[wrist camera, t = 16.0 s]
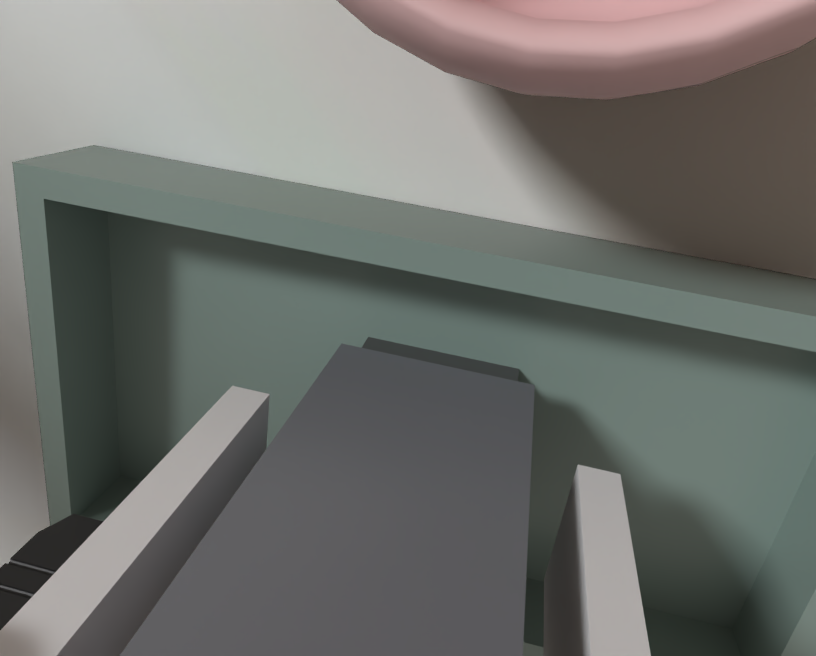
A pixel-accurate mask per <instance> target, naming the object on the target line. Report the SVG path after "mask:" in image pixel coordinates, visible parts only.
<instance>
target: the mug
mask: <svg viewBox="0 0 816 656" xmlns="http://www.w3.org/2000/svg"><path fill="white" fill-rule="evenodd" d="M337 1H338V2H339V3H340V4H342V5H343V6H344V7H345V8H346V9H347V10H348V11H350V12H351V13H352V14H353V15H354V16H355V17H356V18H358V19H359V20H360V21H361V22H362V23H363V24H364V25H365V26H367V27H368V28H369V29H370V30H371V31H372V32H374V33H375V34H377V35H379V36H381V37H383V38H384V39H386V40H388V41H390V42H392V43H393V44H395V45H397V46H399V47H401V48H402V49H404V50H406V51H408V52H410V53H411V54H413V55H415V56H417V57H419V58H421V59H422V60H424V61H426V62H428V63H430V64H431V65H433V66H435V67H437V68H439V69H440V70H442V71H444V72H447V73H450V74H454V75H457V76H461V77H464V78H467V79H471V80H474V81H478V82H481V83H485V84H488V85H492V86H495V87H499V88H502V89H505V90H509V91H512V92H516V93H519V94H523V95H537V96H554V97H571V98H588V99H605V100H609V99H615V98H622V97H628V96H635V95H641V94H648V93H654V92H661V91H668V90H674V89H681V88H687V87H694V86H699V85H702V84H704V83H707V82H710V81H713V80H715V79H718V78H721V77H724V76H726V75H729V74H732V73H735V72H737V71H740V70H743V69H746V68H749V67H751V66H754V65H757V64H760V63H762V62H765V61H768V60H771V59H773V58H776V57H779V56H782V55H784V54H787V53H790V52H792V51H794V50H796V49H798V48H799V47H801V46H803V45H805V44H806V43H808V42H810V41H811V40H813V39H815V38H816V0H337Z"/></svg>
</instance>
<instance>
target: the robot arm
mask: <svg viewBox="0 0 816 656" xmlns="http://www.w3.org/2000/svg"><path fill="white" fill-rule="evenodd" d="M269 397H270V394H267V393H262V392H258V391H254V390H249V389H245V388H240V387H236V386H232V387H231V388H230V389H229V390H228V391H227V392H226V393H225V394H224V395H223V396H222V397H221V398H220V399H219V400H218V401H217V402H216V403H215V404H214V406H213V407H212V408H211V409H210V410H209V411H208V412H207V413H206V414H205V415H204V416H203V417H202V418H201V419H200V420H199V421H198V422H197V423H196V425H195V426H194V427H193V428H192V429H191V430H190V431H189V432H188V433H187V434H186V435H185V436H184V437H183V438H182V439H181V440H180V441H179V442H178V444H177V445H176V446H175V447H174V448H173V449H172V450H171V451H170V452H169V453H168V454H167V455H166V456H165V457H164V458H163V459H162V460H161V461H160V462H159V464H158V465H157V466H156V467H155V468H154V469H153V470H152V471H151V472H150V473H149V474H148V475H147V476H146V477H145V478H144V479H143V480H142V481H141V483H140V484H139V485H138V486H137V487H136V488H135V489H134V490H133V491H132V492H131V493H130V494H129V495H128V496H127V497H126V498H125V499H124V500H123V502H122V503H121V504H120V505H119V506H118V507H117V508H116V509H115V510H114V511H113V512H112V513H111V514H110V515H109V516H108V517H107V518H106V519H105V521H104V522H103V521H100V520H96V519H92V518H88V517H84V516H80V515H77V514H72V515H70V516H68V517H66V518H64V519H62V520H61V521H59V522H57V523H55V524H53V525H51V526H49V527H47V528H45V529H44V530H42V531H40V532H38V533H37V534H36V535H35V536H34V537H33V538H32V539H31V540H29V541H28V542H27V543H26V544H25V545H24V546H23V547H22V548H21V549H20V550H19V551H18V552H17V553H16V554H15V555H14V556H12V557H11V560H10V562H9V563H8V564H6V563H5V564H4V565H3V566H2V567H1V568H0V656H119V655H120V654H121V653H122V651H123V650H124V648H125V647H126V646H127V644H128V643H129V641H130V640H131V639H132V637H133V636H134V634H135V633H136V632H137V630H138V629H139V627H140V626H141V625H142V623H143V622H144V620H145V619H146V618H147V616H148V615H149V613H150V612H151V611H152V609H153V608H154V606H155V605H156V603H157V602H158V601H159V599H160V598H161V596H162V595H163V594H164V592H165V591H166V589H167V588H168V587H169V585H170V584H171V582H172V581H173V580H174V578H175V577H176V575H177V574H178V573H179V571H180V570H181V568H182V567H183V566H184V564H185V563H186V561H187V560H188V559H189V557H190V556H191V554H192V553H193V551H194V550H195V549H196V547H197V546H198V544H199V543H200V542H201V540H202V539H203V537H204V536H205V535H206V533H207V532H208V530H209V529H210V528H211V526H212V525H213V523H214V522H215V521H216V519H217V518H218V516H219V515H220V514H221V512H222V511H223V509H224V508H225V506H226V505H227V504H228V502H229V501H230V499H231V498H232V497H233V495H234V494H235V492H236V491H237V490H238V488H239V487H240V485H241V484H242V483H243V481H244V480H245V478H246V477H247V476H248V474H249V473H250V471H251V470H252V469H253V467H254V466H255V464H256V463H257V462H258V460H259V459H260V457H261V456H262V454H263V453H264V452H265V450H266V446H267V429H268V413H269ZM543 656H651V653H650V647H649V641H648V636H647V630H646V624H645V618H644V612H643V606H642V600H641V594H640V588H639V582H638V576H637V570H636V564H635V558H634V552H633V546H632V540H631V534H630V528H629V522H628V516H627V511H626V505H625V499H624V493H623V487H622V481H621V475H620V474H618V473H613V472H609V471H605V470H600V469H596V468H591V467H587V466H583V465H577V469H576V472H575V476H574V479H573V482H572V486H571V489H570V492H569V496H568V499H567V503H566V506H565V509H564V513H563V516H562V520H561V523H560V526H559V530H558V533H557V536H556V540H555V543H554V547H553V550H552V553H551V557H550V560H549V564H548V567H547V570H546V574H545V577H544V647H543Z"/></svg>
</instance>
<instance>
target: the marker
mask: <svg viewBox="0 0 816 656" xmlns="http://www.w3.org/2000/svg"><path fill="white" fill-rule="evenodd" d="M518 375H519V369H517V368H513V367H508V366H503V365H499V364H494V363H489V362H484V361H480V360H475V359H470V358H466V357H461V356H456V355H452V354H447V353H442V352H437V351H433V350H428V349H423V348H419V347H414V346H409V345H405V344H400V343H395V342H390V341H386V340H381V339H376V338H372V337H368V338H367V340H366V341H365V343H364V344H363V346H362V347H361V348H360V347H356V346H351V345H346V344H342V343H341V345H340V346H339V348H338V349H337V350H336V352H335V353H334V355H333V356H332V357H331V359H330V360H329V362H328V363H327V365H326V366H325V367H324V369H323V370H322V372H321V373H320V374H319V376H318V377H317V379H316V380H315V381H314V383H313V384H312V386H311V387H310V388H309V390H308V391H307V393H306V394H305V395H304V397H303V398H302V400H301V401H300V402H299V404H298V405H297V407H296V408H295V409H294V411H293V412H292V414H291V415H290V417H289V418H288V419H287V421H286V422H285V424H284V425H283V426H282V428H281V429H280V431H279V432H278V433H277V435H276V436H275V438H274V439H273V440H272V442H271V443H270V445H269V446H268V447H267V449H266V450H265V452H264V453H263V454H262V456H261V457H260V459H259V460H258V462H257V463H256V464H255V466H254V467H253V469H252V470H251V471H250V473H249V474H248V476H247V477H246V478H245V480H244V481H243V483H242V484H241V485H240V487H239V488H238V490H237V491H236V492H235V494H234V495H233V497H232V498H231V499H230V501H229V502H228V504H227V505H226V506H225V508H224V509H223V511H222V512H221V514H220V515H219V516H218V518H217V519H216V521H215V522H214V523H213V525H212V526H211V528H210V529H209V530H208V532H207V533H206V535H205V536H204V537H203V539H202V540H201V542H200V543H199V544H198V546H197V547H196V549H195V550H194V551H193V553H192V554H191V556H190V557H189V559H188V560H187V561H186V563H185V564H184V566H183V567H182V568H181V570H180V571H179V573H178V574H177V575H176V577H175V578H174V580H173V581H172V582H171V584H170V585H169V587H168V588H167V589H166V591H165V592H164V594H163V595H162V596H161V598H160V599H159V601H158V602H157V603H156V605H155V606H154V608H153V609H152V611H151V612H150V613H149V615H148V616H147V618H146V619H145V620H144V622H143V623H142V625H141V626H140V627H139V629H138V630H137V632H136V633H135V634H134V636H133V637H132V639H131V640H130V641H129V643H128V644H127V646H126V647H125V648H124V650H123V651H122V653H121V654H120V655H119V656H523V640H524V617H525V595H526V572H527V549H528V526H529V503H530V481H531V458H532V435H533V412H534V390H535V385H532V384H528V383H523V382H518Z"/></svg>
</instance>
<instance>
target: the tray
mask: <svg viewBox="0 0 816 656" xmlns="http://www.w3.org/2000/svg"><path fill="white" fill-rule="evenodd" d="M12 163H13V172H14V182H15V191H16V201H17V211H18V220H19V230H20V239H21V249H22V259H23V268H24V278H25V288H26V297H27V307H28V316H29V326H30V336H31V345H32V355H33V364H34V374H35V384H36V393H37V403H38V413H39V422H40V432H41V441H42V451H43V461H44V470H45V480H46V489H47V499H48V509H49V518H50V526H51V525H53V524H55V523H57V522H59V521H61V520H62V519H64V518H66V517H68V516H70V515H72V514H77V515H80V516H84V517H88V518H92V519H96V520H100V521H103V522H104V521H105V519H106V518H107V517H108V516H109V515H110V514H111V513H112V512H113V511H114V510H115V509H116V508H117V507H118V506H119V505H120V504H121V503H122V502H123V500H124V499H125V498H126V497H127V496H128V495H129V494H130V493H131V492H132V491H133V490H134V489H135V488H136V487H137V486H138V485H139V484H140V483H141V481H142V480H143V479H144V478H145V477H146V476H147V475H148V474H149V473H150V472H151V471H152V470H153V469H154V468H155V467H156V466H157V465H158V464H159V462H160V461H161V460H162V459H163V458H164V457H165V456H166V455H167V454H168V453H169V452H170V451H171V450H172V449H173V448H174V447H175V446H176V445H177V444H178V442H179V441H180V440H181V439H182V438H183V437H184V436H185V435H186V434H187V433H188V432H189V431H190V430H191V429H192V428H193V427H194V426H195V425H196V423H197V422H198V421H199V420H200V419H201V418H202V417H203V416H204V415H205V414H206V413H207V412H208V411H209V410H210V409H211V408H212V407H213V406H214V404H215V403H216V402H217V401H218V400H219V399H220V398H221V397H222V396H223V395H224V394H225V393H226V392H227V391H228V390H229V389H230V388H231V387H232V386H236V387H240V388H245V389H249V390H254V391H258V392H262V393H267V394H270V397H269V413H268V429H267V446H266V449H267V447H268V446H269V445H270V443H271V442H272V440H273V439H274V438H275V436H276V435H277V433H278V432H279V431H280V429H281V428H282V426H283V425H284V424H285V422H286V421H287V419H288V418H289V417H290V415H291V414H292V412H293V411H294V409H295V408H296V407H297V405H298V404H299V402H300V401H301V400H302V398H303V397H304V395H305V394H306V393H307V391H308V390H309V388H310V387H311V386H312V384H313V383H314V381H315V380H316V379H317V377H318V376H319V374H320V373H321V372H322V370H323V369H324V367H325V366H326V365H327V363H328V362H329V360H330V359H331V357H332V356H333V355H334V353H335V352H336V350H337V349H338V348H339V346H340V345H341V343H342V344H346V345H351V346H356V347H360V348H361V347H362V346H363V344H364V343H365V341H366V340H367V338H368V337H372V338H376V339H381V340H386V341H390V342H395V343H400V344H405V345H409V346H414V347H419V348H423V349H428V350H433V351H437V352H442V353H447V354H452V355H456V356H461V357H466V358H470V359H475V360H480V361H484V362H489V363H494V364H499V365H503V366H508V367H513V368H517V369H519V375H518V382H523V383H528V384H532V385H535V390H534V412H533V435H532V458H531V481H530V503H529V526H528V549H527V572H526V595H525V617H524V640H523V656H543V647H544V577H545V574H546V570H547V567H548V564H549V560H550V557H551V553H552V550H553V547H554V543H555V540H556V536H557V533H558V530H559V526H560V523H561V520H562V516H563V513H564V509H565V506H566V503H567V499H568V496H569V492H570V489H571V486H572V482H573V479H574V476H575V472H576V469H577V465H583V466H587V467H591V468H596V469H600V470H605V471H609V472H613V473H618V474H620V475H621V481H622V487H623V493H624V499H625V505H626V511H627V516H628V522H629V528H630V534H631V540H632V546H633V552H634V558H635V564H636V570H637V576H638V582H639V588H640V594H641V600H642V606H643V612H644V618H645V624H646V630H647V636H648V641H649V647H650V653H651V656H816V279H811V278H806V277H800V276H795V275H789V274H784V273H779V272H773V271H768V270H763V269H757V268H752V267H746V266H741V265H736V264H730V263H725V262H719V261H714V260H709V259H703V258H698V257H693V256H687V255H682V254H676V253H671V252H666V251H660V250H655V249H650V248H644V247H639V246H633V245H628V244H623V243H617V242H612V241H606V240H601V239H596V238H590V237H585V236H580V235H574V234H569V233H563V232H558V231H553V230H547V229H542V228H537V227H531V226H526V225H520V224H515V223H510V222H504V221H499V220H493V219H488V218H483V217H477V216H472V215H467V214H461V213H456V212H450V211H445V210H440V209H434V208H429V207H424V206H418V205H413V204H407V203H402V202H397V201H391V200H386V199H380V198H375V197H370V196H364V195H359V194H354V193H348V192H343V191H337V190H332V189H327V188H321V187H316V186H311V185H305V184H300V183H294V182H289V181H284V180H278V179H273V178H267V177H262V176H257V175H251V174H246V173H241V172H235V171H230V170H224V169H219V168H214V167H208V166H203V165H198V164H192V163H187V162H181V161H176V160H171V159H165V158H160V157H155V156H149V155H144V154H138V153H133V152H128V151H122V150H117V149H111V148H106V147H101V146H95V145H93V146H88V147H83V148H78V149H74V150H69V151H64V152H59V153H54V154H49V155H44V156H40V157H35V158H30V159H25V160H20V161H15V162H12Z"/></svg>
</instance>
